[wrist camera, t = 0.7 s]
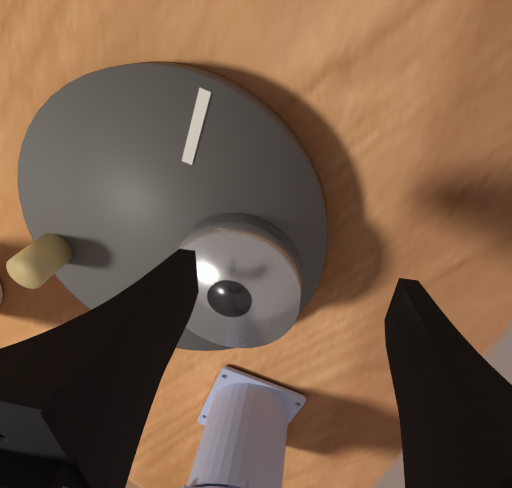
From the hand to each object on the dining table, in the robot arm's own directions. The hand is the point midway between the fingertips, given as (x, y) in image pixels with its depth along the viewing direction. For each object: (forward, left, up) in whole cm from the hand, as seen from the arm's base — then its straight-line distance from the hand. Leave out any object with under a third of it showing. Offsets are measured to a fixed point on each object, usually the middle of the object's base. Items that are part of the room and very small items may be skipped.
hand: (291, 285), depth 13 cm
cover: (-6, +2, -8) cm, 10 cm away
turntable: (-6, +7, -10) cm, 14 cm away
